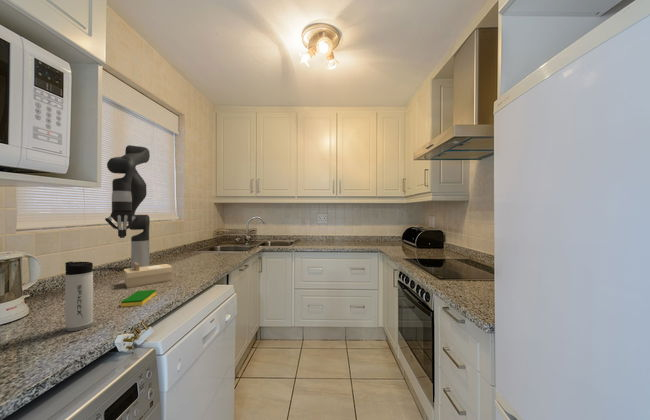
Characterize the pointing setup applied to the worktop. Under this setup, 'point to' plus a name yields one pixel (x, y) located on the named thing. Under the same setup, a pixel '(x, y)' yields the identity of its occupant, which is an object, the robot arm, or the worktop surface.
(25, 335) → the worktop surface
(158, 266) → the lid
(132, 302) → the dish sponge
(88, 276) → the travel mug
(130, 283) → the box
